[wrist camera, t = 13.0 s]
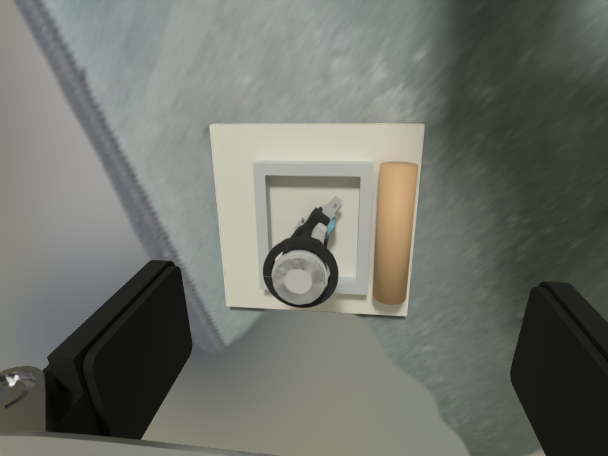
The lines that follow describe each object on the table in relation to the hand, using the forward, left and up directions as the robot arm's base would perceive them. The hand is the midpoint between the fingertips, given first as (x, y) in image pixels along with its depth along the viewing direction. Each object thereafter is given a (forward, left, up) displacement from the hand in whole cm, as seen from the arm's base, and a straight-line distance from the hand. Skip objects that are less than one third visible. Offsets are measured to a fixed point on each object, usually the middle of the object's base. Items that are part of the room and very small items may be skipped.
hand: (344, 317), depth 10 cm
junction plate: (+3, +6, -25) cm, 26 cm away
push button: (+3, +6, -24) cm, 25 cm away
